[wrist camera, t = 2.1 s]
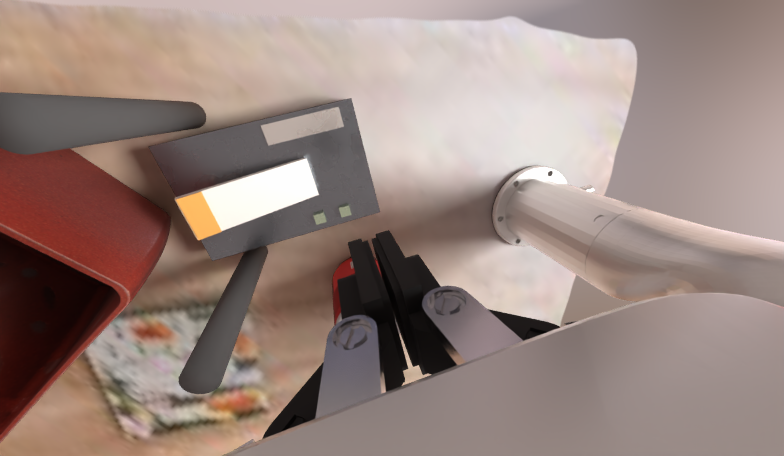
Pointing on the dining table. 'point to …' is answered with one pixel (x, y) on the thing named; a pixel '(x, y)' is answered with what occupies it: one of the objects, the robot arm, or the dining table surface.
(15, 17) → the dining table surface
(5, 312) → the plant pot
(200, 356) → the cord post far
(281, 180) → the paddle
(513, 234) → the robot arm
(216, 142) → the breaker panel
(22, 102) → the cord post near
